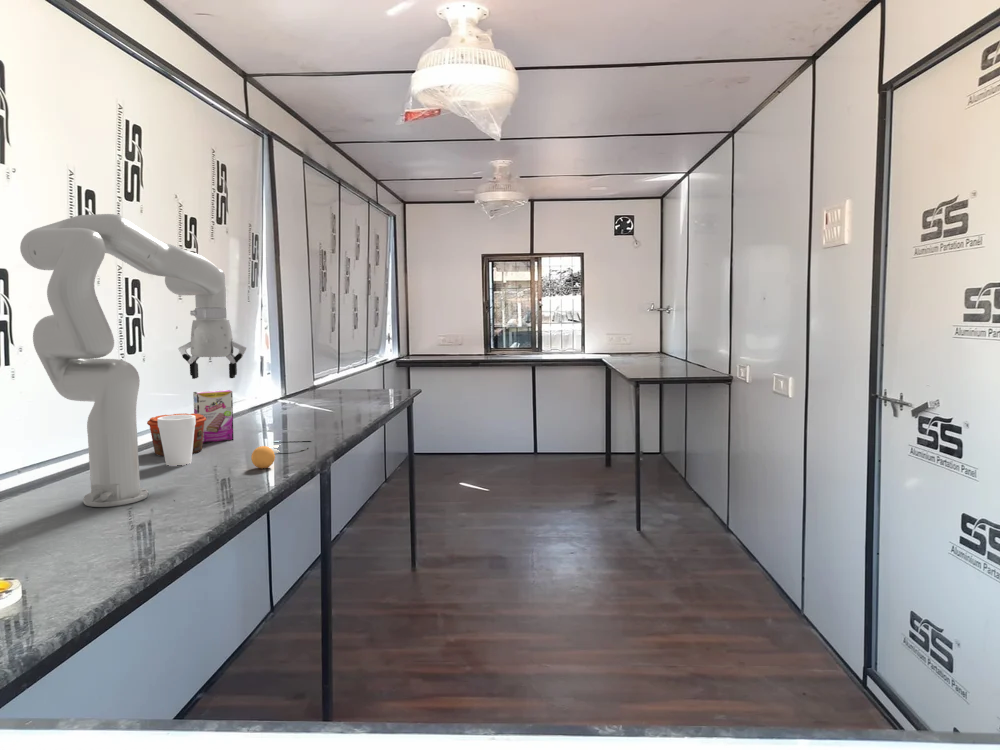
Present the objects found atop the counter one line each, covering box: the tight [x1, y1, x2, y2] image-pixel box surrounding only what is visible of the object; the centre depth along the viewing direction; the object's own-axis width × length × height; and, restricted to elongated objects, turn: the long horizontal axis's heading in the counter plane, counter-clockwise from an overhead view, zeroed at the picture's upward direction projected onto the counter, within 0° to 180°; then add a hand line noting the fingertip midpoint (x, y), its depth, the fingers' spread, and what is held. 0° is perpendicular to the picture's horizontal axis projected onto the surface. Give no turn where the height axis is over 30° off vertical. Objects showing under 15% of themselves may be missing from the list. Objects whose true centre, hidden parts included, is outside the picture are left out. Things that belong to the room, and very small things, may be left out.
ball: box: [251, 445, 276, 470], centre depth 180 cm, size 6×6×6 cm
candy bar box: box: [193, 389, 234, 444], centre depth 217 cm, size 11×5×16 cm, turn 130°
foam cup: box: [157, 414, 196, 467], centre depth 185 cm, size 10×9×13 cm
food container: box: [146, 413, 206, 457], centre depth 200 cm, size 16×16×11 cm
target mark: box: [269, 444, 280, 453], centre depth 205 cm, size 14×14×1 cm
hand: (213, 378), depth 182 cm, fingers open, 9 cm apart
